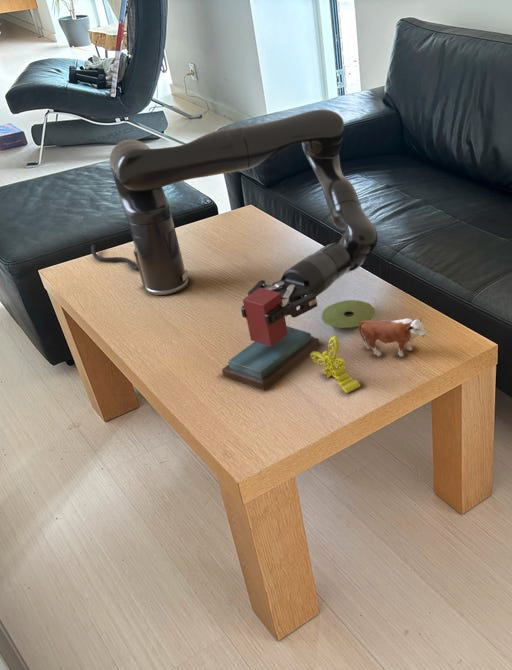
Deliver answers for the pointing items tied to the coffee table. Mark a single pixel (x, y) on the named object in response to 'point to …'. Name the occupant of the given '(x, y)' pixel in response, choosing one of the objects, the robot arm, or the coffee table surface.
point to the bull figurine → (391, 333)
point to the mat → (348, 313)
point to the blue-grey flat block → (270, 359)
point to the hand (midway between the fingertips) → (255, 316)
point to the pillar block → (255, 315)
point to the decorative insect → (331, 368)
